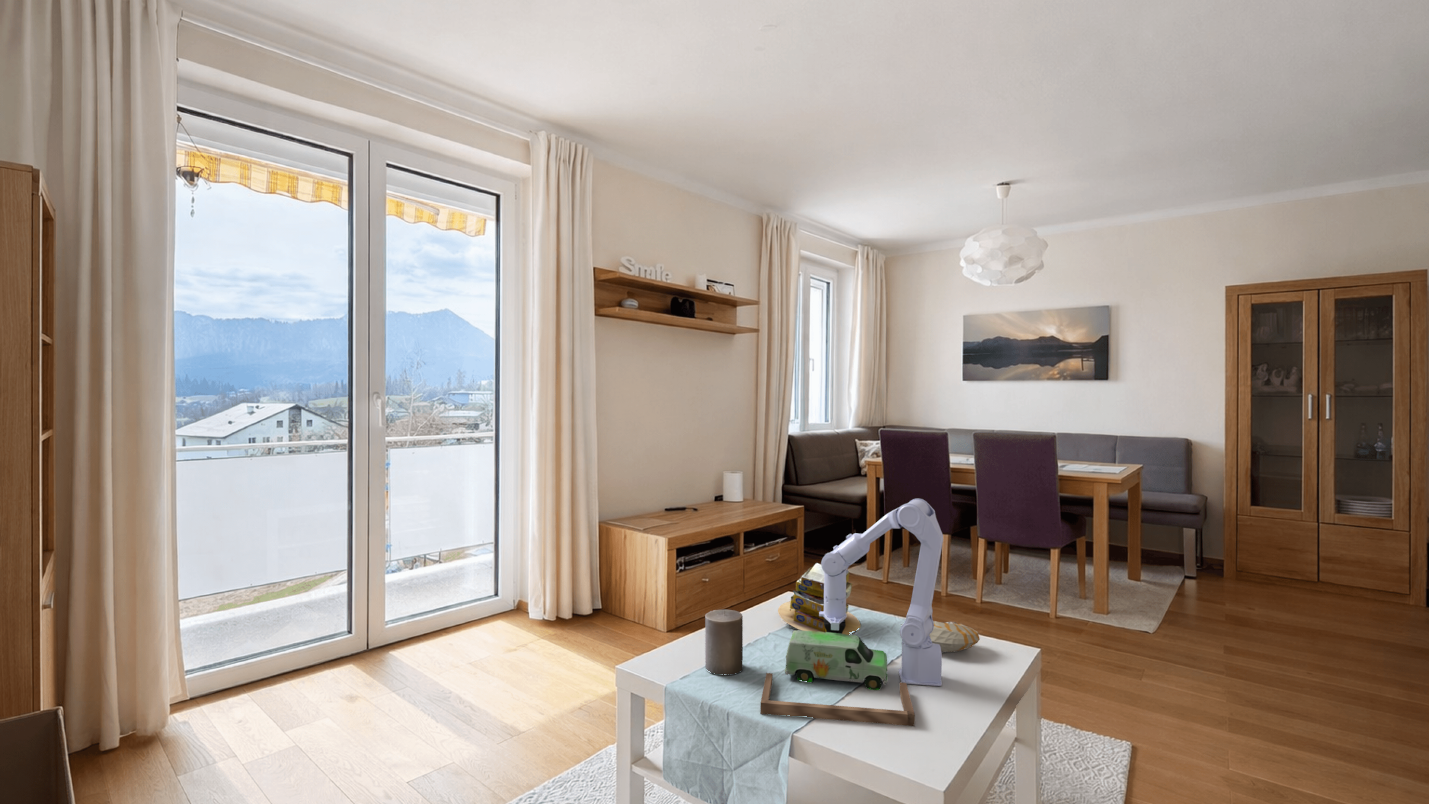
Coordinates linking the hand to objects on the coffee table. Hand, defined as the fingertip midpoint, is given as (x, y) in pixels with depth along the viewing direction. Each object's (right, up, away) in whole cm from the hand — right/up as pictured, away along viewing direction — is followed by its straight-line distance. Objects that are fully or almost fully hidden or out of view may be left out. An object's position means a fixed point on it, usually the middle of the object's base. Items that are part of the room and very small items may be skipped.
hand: (834, 648), depth 184 cm
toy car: (-1, -4, -10) cm, 11 cm away
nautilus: (+31, -4, +10) cm, 32 cm away
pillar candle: (-29, -4, -5) cm, 30 cm away
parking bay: (-4, -4, -24) cm, 25 cm away
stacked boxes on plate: (0, -3, +29) cm, 29 cm away
